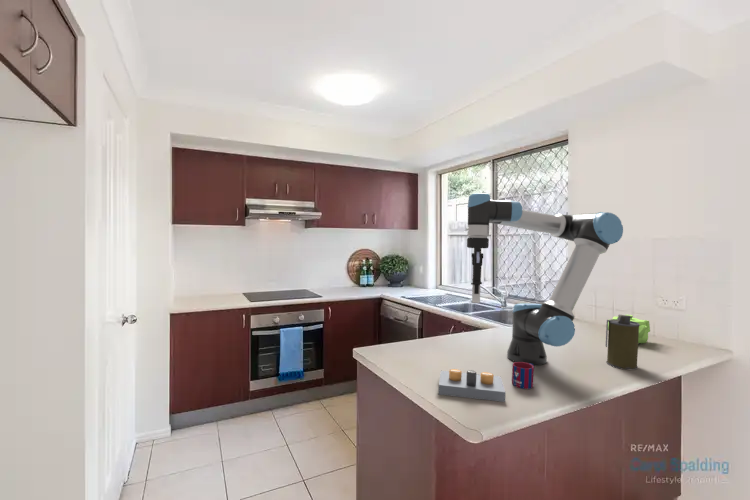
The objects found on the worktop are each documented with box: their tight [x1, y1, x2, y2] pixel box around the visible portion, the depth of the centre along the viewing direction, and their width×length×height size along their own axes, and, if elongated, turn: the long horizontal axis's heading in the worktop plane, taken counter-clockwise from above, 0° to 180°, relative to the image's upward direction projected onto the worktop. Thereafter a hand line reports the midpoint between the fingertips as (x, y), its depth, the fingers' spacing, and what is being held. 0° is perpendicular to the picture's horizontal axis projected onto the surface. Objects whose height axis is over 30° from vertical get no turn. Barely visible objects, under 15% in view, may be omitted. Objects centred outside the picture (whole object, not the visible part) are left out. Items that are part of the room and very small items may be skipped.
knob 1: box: [448, 368, 463, 381], centre depth 121 cm, size 4×4×6 cm
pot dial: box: [466, 370, 477, 387], centre depth 117 cm, size 3×3×4 cm
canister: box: [605, 314, 640, 370], centre depth 147 cm, size 11×10×20 cm
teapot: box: [608, 314, 651, 344], centre depth 180 cm, size 18×20×13 cm
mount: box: [438, 370, 506, 403], centre depth 120 cm, size 20×13×3 cm, turn 77°
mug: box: [511, 361, 535, 390], centre depth 126 cm, size 7×10×7 cm
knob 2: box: [480, 371, 495, 385], centre depth 119 cm, size 4×4×6 cm
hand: (475, 302), depth 133 cm, fingers closed
